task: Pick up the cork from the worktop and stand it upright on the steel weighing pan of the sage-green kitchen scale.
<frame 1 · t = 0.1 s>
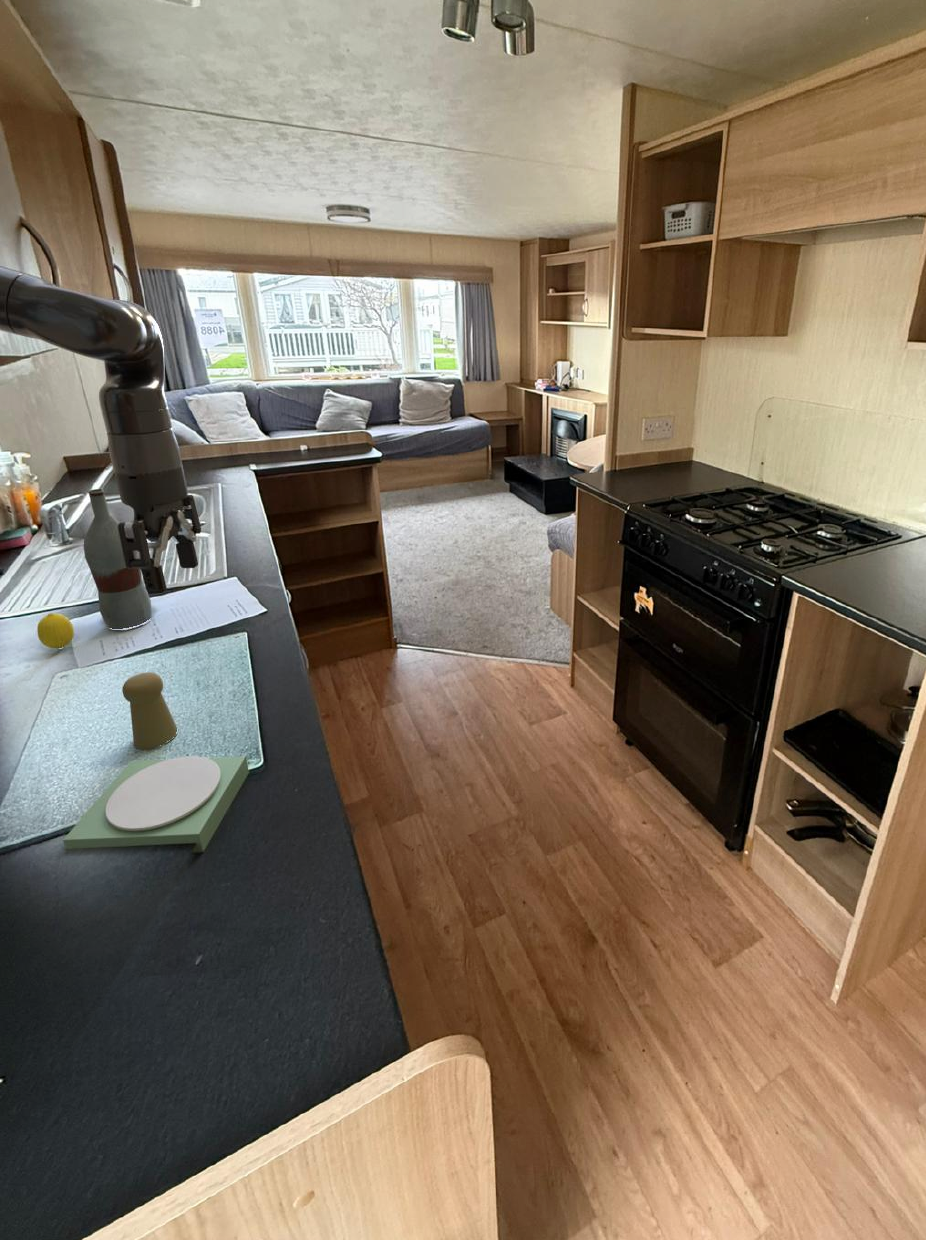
hand: (174, 579, 82), 29 cm above the counter, tool pointing down, fingers open, 8 cm apart
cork: (156, 738, 94), on the counter
scale: (167, 811, 80), on the counter
bottle: (130, 623, 130), on the counter
lemon: (61, 649, 119), on the counter
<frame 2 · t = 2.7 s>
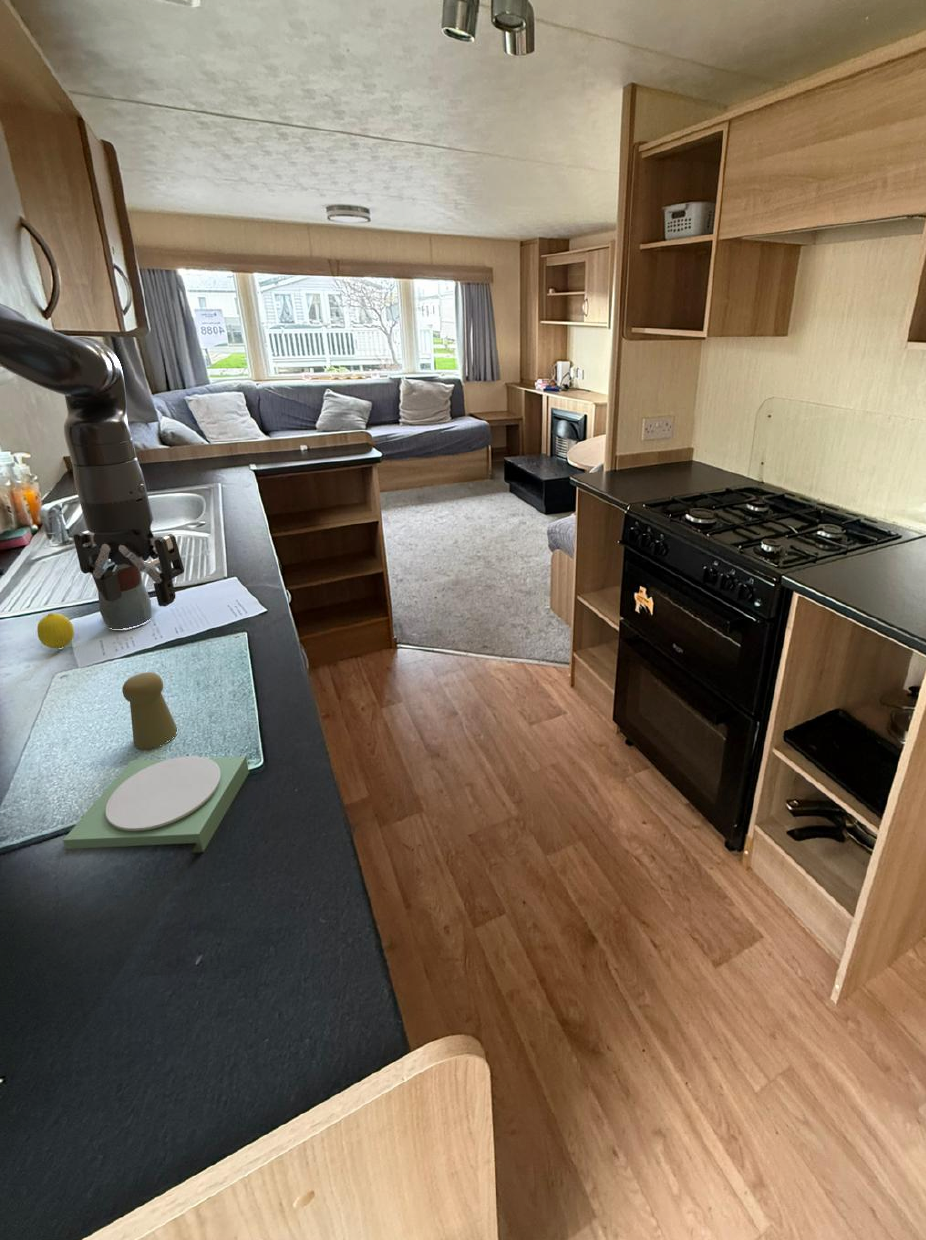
hand: (140, 601, 85), 24 cm above the counter, tool pointing down, fingers open, 8 cm apart
nothing on the counter moved.
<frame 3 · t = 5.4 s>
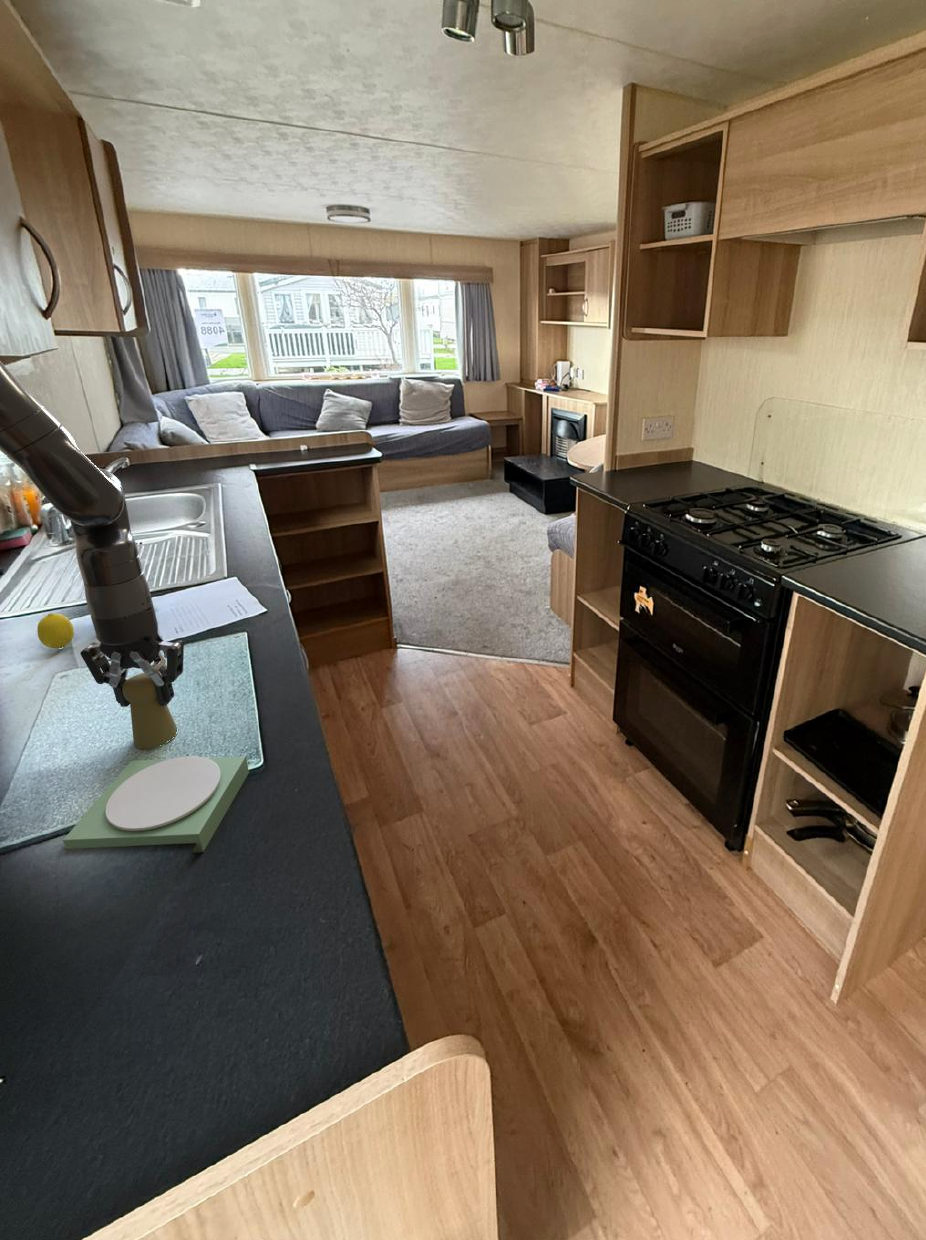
hand: (147, 702, 92), 6 cm above the counter, tool pointing down, fingers closed on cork, 5 cm apart
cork: (156, 738, 94), on the counter, touching gripper
everything else where it was.
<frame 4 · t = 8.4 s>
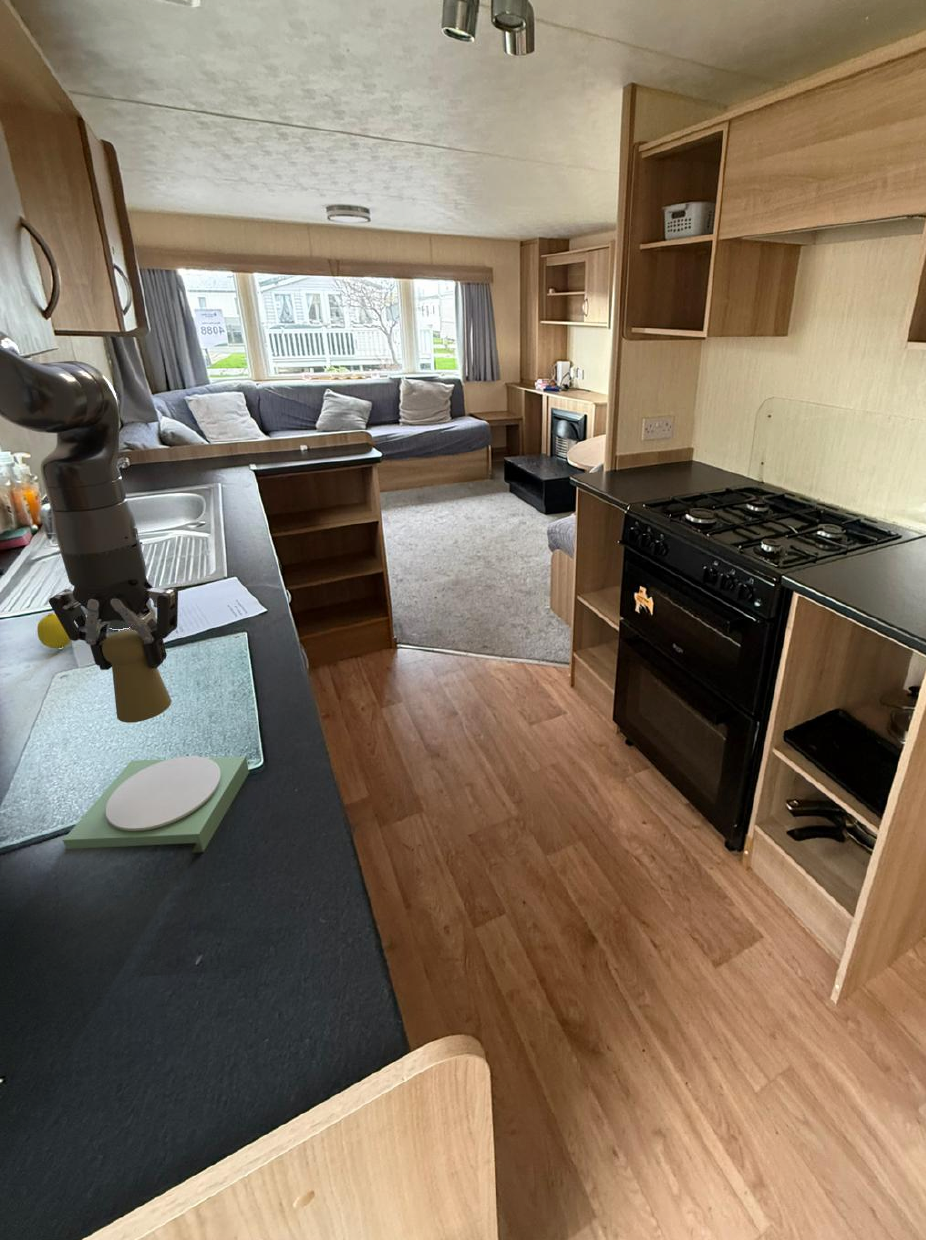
hand: (133, 665, 75), 21 cm above the counter, tool pointing down, fingers closed on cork, 5 cm apart
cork: (145, 709, 77), point 15 cm above the counter, touching gripper
everything else where it was.
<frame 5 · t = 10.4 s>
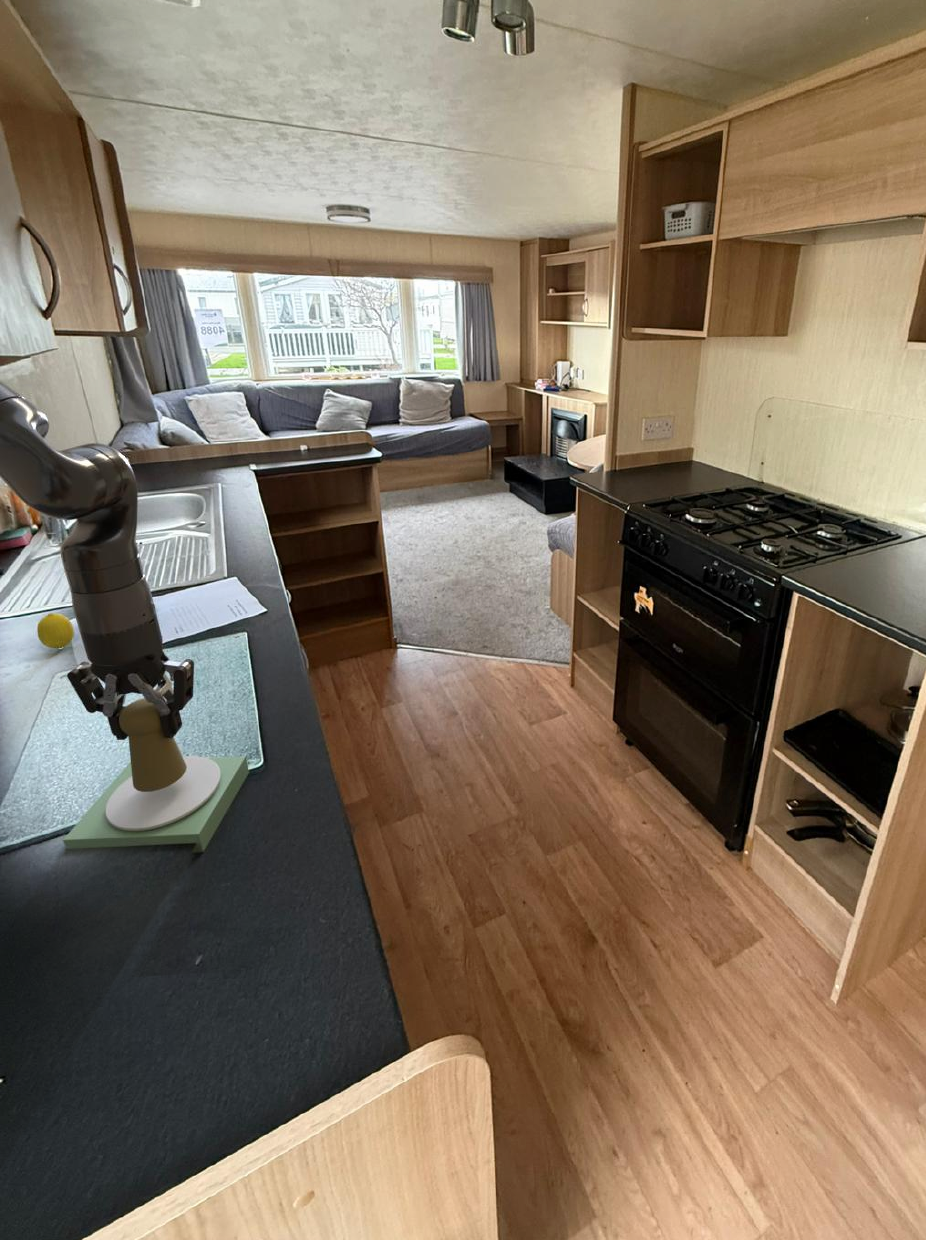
hand: (149, 734, 75), 13 cm above the counter, tool pointing down, fingers closed on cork, 5 cm apart
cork: (160, 776, 78), point 6 cm above the counter, touching gripper
everything else where it was.
when the fingers open (10 cm above the counter, at t = 11.6 s): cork stays where it is, resting on scale.
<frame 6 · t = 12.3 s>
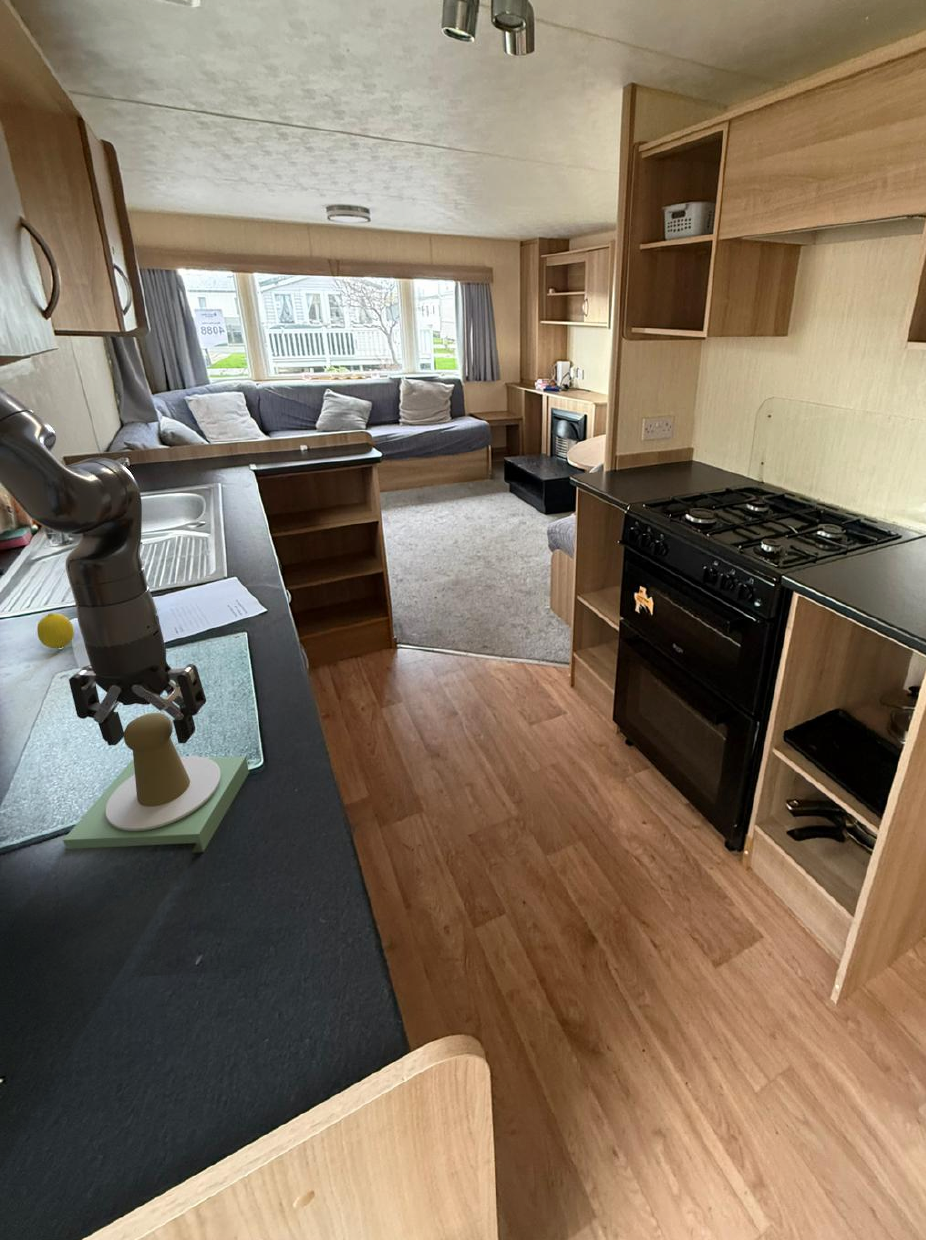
hand: (151, 740, 76), 12 cm above the counter, tool pointing down, fingers open, 8 cm apart
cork: (164, 790, 79), point 4 cm above the counter, touching scale
everything else where it was.
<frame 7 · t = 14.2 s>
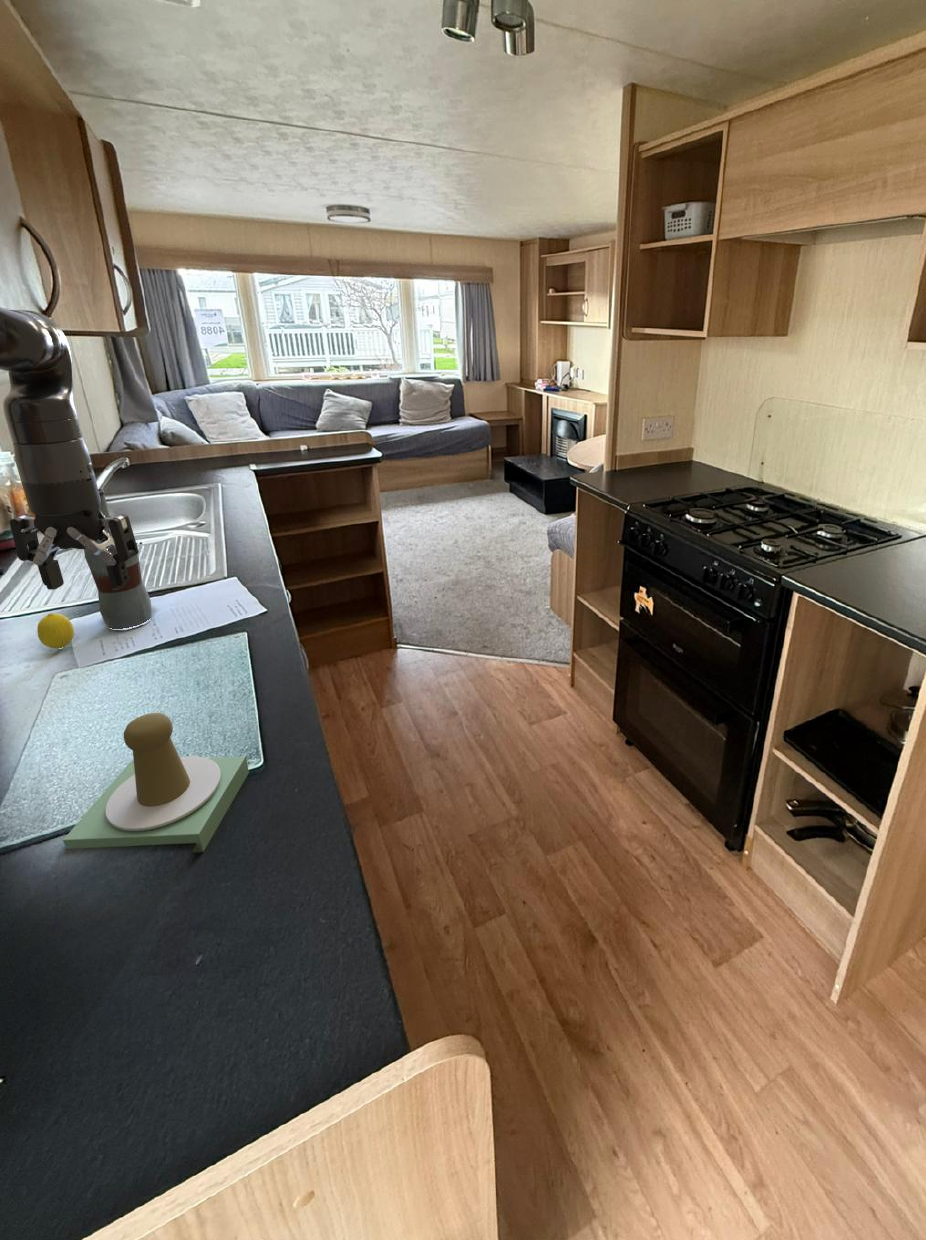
hand: (88, 587, 82), 27 cm above the counter, tool pointing down, fingers open, 8 cm apart
nothing on the counter moved.
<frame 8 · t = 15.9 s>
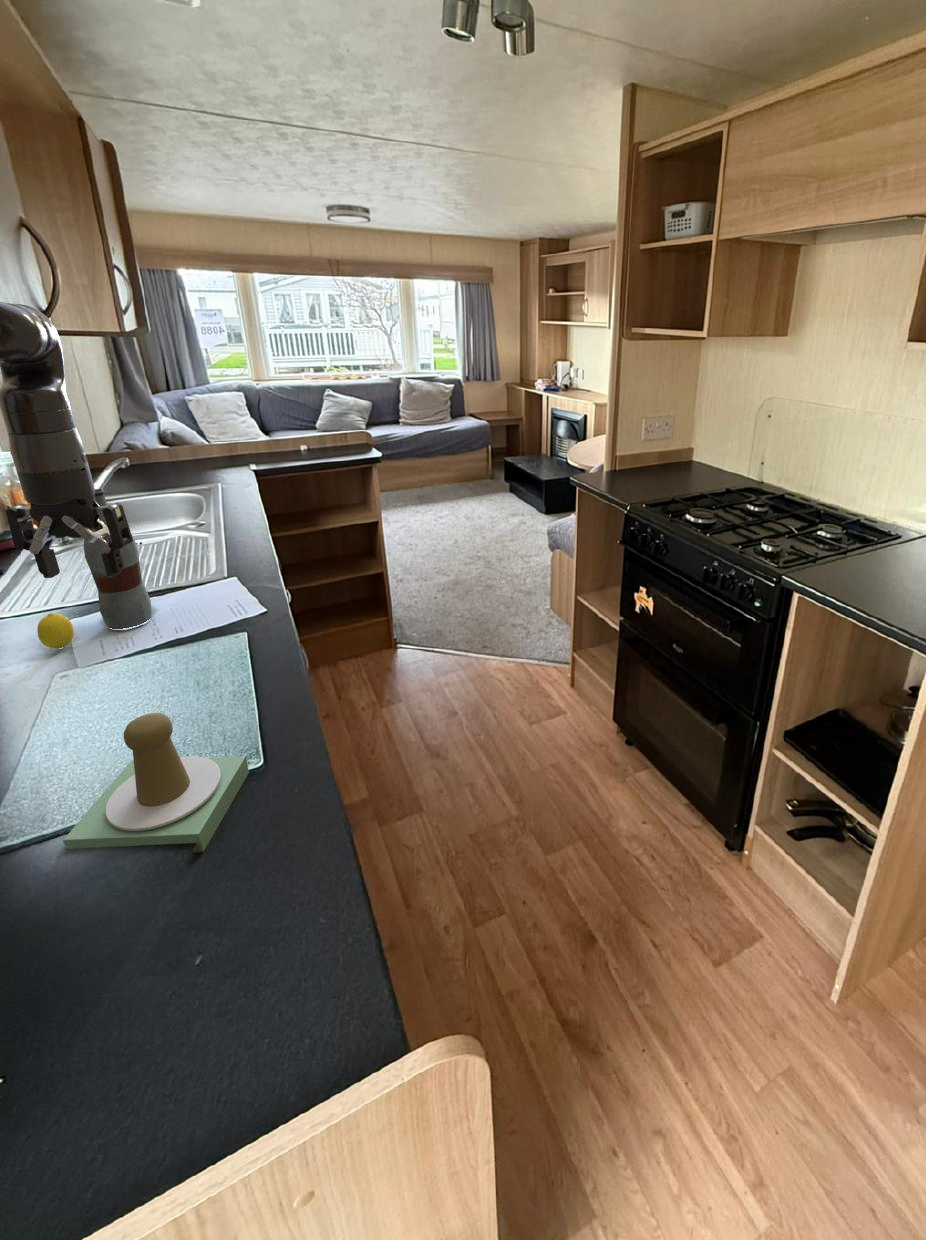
hand: (84, 575, 84), 28 cm above the counter, tool pointing down, fingers open, 8 cm apart
nothing on the counter moved.
at the end: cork inside the target area on the scale (0.1 cm from its centre), point 3.6 cm above the scale's base; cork tilted 0°; the gripper is holding nothing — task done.
